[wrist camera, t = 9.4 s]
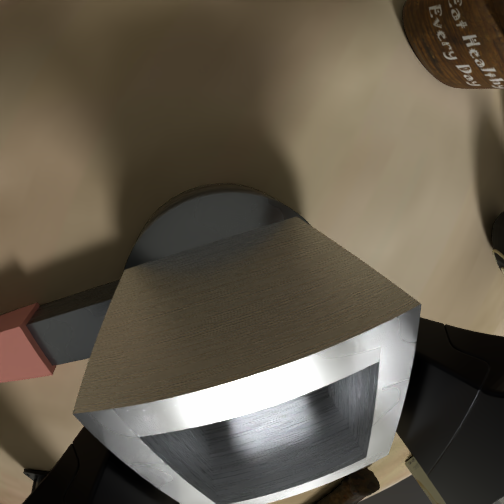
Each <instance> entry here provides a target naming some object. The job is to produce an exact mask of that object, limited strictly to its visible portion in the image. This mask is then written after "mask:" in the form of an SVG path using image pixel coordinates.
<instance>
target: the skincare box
mask: <svg viewBox="0 0 504 504" xmlns="http://www.w3.org/2000/svg"><path fill="white" fill-rule="evenodd" d="M405 465H406V466H407V468H408V469H409V471H410V472H411V473H412V475H413V476H414V478H415V479H416V480H417V482H418V483H419V485H420V486H421V488H422V489H423V490H424V492H425V493H426V495H427V496H428V498H429V499H430V500H431V502H432V503H433V504H446V503H445V501H444V500H443V498H442V497H441V496H440V494H439V493H438V491H437V490H436V488H435V487H434V485H433V484H432V482H431V481H430V480H429V478H428V477H427V475H426V474H425V472H424V471H423V469H422V468H421V466H420V465H419V463H418V462H417V461H416V459H415V458H414V456H413V457H412V458H410V459H409V460H408V461H407V462H406V463H405Z"/></svg>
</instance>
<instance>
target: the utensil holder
mask: <svg viewBox="0 0 504 504" xmlns="http://www.w3.org/2000/svg"><path fill="white" fill-rule="evenodd" d="M403 23H404V28H405V31H406V34H407V37H408V40H409V42H410V44H411V46H412V48H413V50H414V52H415V54H416V55H417V57H418V58H419V60H420V61H421V63H422V64H423V65H424V67H425V68H426V69H427V70H428V71H429V72H430V73H431V74H432V75H433V76H434V77H435V78H436V79H438V80H439V81H440V82H442V83H444V84H446V85H448V86H451V87H454V88H462V89H489V88H496V89H504V0H407V1H406V3H405V5H404V8H403Z"/></svg>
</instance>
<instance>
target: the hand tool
mask: <svg viewBox="0 0 504 504" xmlns="http://www.w3.org/2000/svg"><path fill="white" fill-rule="evenodd" d="M379 488H380V485H379V481H378V480H377V478H376V477H375V475H374V473H373V472H372V471H370V470H368V469H367V468H365V469H360V470H357V471H355V472H353V473H351V474H350V475H349V478H347V479H343V480H342V484H341V485H340V486H339V487H338V488H336V489H335V490H334V491H333V492H331V493H330V494H329V495H328V496H326V497H325V498H323V499H321V500H320V501H319V502H318V503H316V504H357V503H358V502H359V501H361V500H362V499H363V498H364V497H366V496H368V495H371V494H372V493H374V492H376V491H377V490H379Z"/></svg>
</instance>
